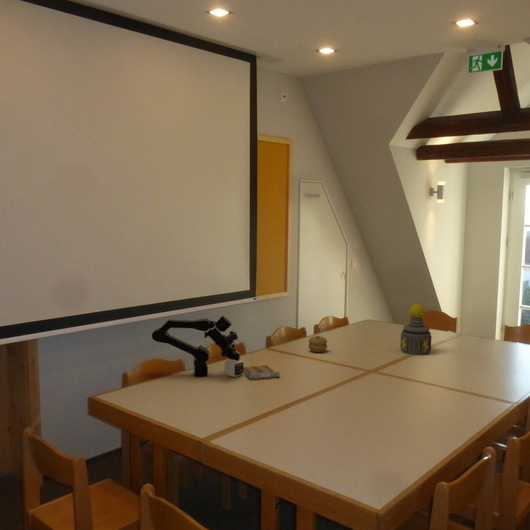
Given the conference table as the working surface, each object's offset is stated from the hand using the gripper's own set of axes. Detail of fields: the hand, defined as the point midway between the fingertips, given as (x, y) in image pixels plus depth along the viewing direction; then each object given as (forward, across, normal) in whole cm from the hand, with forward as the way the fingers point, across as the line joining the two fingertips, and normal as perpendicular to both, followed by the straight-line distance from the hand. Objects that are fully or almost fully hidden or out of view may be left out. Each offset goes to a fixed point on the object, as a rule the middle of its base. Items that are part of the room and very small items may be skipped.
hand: (238, 358), depth 301 cm
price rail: (+15, -6, -4) cm, 17 cm away
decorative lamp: (+82, +56, -70) cm, 122 cm away
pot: (+39, +54, -27) cm, 71 cm away
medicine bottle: (+4, 0, +8) cm, 9 cm away
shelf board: (+14, +4, -1) cm, 14 cm away
